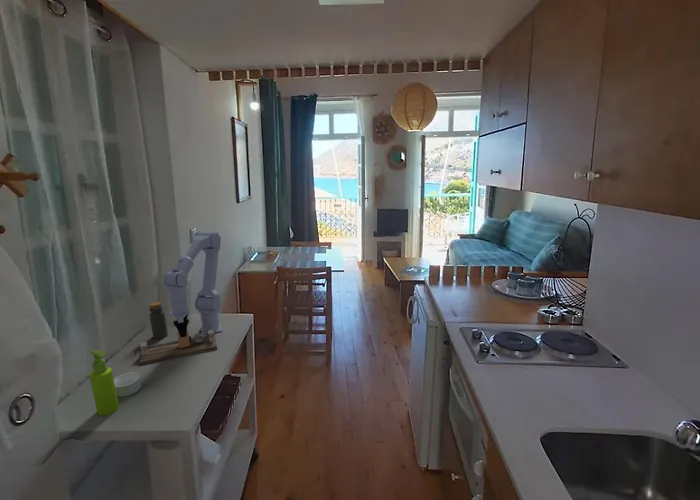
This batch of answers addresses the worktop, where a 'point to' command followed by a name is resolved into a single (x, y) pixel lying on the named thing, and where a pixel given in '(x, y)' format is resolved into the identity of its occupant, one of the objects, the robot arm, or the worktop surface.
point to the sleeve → (183, 341)
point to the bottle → (158, 320)
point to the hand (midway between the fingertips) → (183, 332)
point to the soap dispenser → (103, 385)
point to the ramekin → (127, 384)
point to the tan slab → (177, 348)
